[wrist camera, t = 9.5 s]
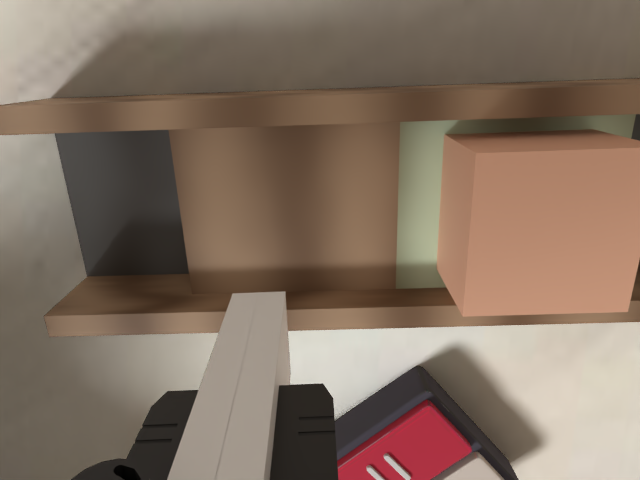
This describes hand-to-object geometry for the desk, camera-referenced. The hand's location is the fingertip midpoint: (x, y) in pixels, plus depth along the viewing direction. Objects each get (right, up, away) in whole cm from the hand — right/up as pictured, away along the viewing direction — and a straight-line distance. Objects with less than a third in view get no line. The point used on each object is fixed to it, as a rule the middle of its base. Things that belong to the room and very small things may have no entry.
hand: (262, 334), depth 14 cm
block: (+11, +5, +10) cm, 16 cm away
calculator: (+6, -13, +21) cm, 25 cm away
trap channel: (+6, +5, +13) cm, 15 cm away
